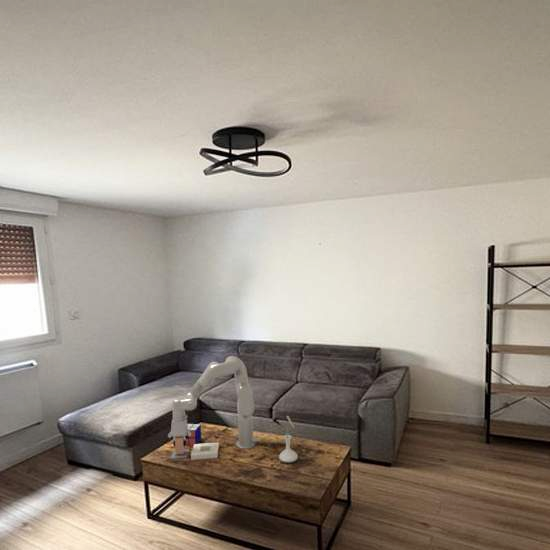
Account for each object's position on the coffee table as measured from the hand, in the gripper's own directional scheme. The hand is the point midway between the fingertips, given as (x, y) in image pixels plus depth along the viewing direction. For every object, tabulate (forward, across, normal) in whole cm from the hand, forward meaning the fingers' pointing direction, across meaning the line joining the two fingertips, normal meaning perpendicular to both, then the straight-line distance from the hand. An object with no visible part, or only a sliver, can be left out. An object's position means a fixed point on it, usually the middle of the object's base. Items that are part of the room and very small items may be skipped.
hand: (180, 446), depth 222 cm
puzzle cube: (+6, -5, -17) cm, 19 cm away
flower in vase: (+6, -67, +16) cm, 70 cm away
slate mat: (+5, 0, 0) cm, 5 cm away
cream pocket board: (+5, -16, +1) cm, 17 cm away
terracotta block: (+4, 0, 0) cm, 4 cm away
